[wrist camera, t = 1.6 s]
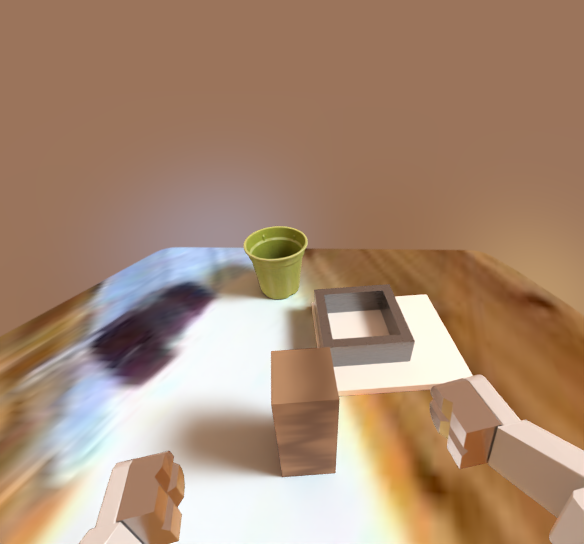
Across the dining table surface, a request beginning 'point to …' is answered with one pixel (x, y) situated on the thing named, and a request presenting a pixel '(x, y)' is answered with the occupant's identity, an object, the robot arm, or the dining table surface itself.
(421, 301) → the base plate
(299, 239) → the plant pot
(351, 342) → the steel collar
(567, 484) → the robot arm
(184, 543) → the dining table surface
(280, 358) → the walnut post
